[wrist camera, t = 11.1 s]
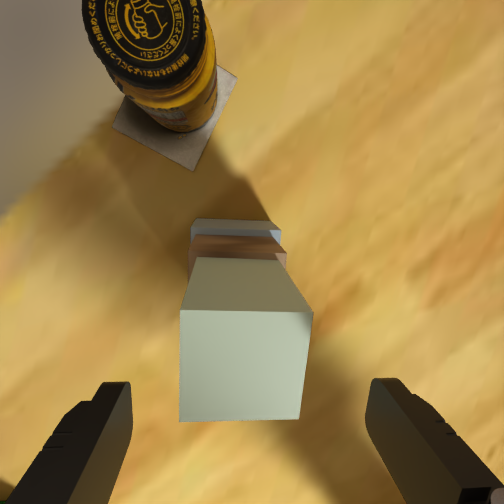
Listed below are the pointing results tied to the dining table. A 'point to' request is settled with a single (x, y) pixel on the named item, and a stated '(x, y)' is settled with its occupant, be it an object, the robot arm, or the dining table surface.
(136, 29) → the condiment
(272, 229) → the tower base
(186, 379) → the green block
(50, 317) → the dining table surface
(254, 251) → the tower top
